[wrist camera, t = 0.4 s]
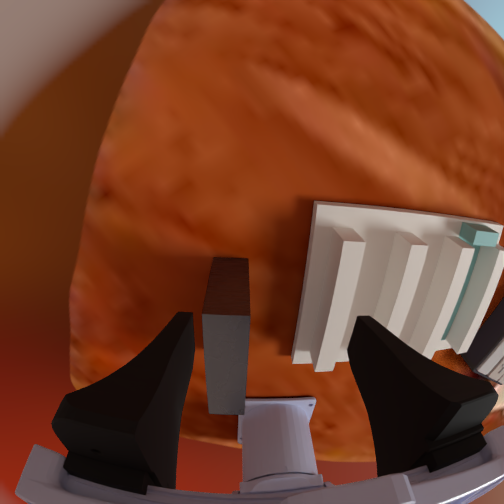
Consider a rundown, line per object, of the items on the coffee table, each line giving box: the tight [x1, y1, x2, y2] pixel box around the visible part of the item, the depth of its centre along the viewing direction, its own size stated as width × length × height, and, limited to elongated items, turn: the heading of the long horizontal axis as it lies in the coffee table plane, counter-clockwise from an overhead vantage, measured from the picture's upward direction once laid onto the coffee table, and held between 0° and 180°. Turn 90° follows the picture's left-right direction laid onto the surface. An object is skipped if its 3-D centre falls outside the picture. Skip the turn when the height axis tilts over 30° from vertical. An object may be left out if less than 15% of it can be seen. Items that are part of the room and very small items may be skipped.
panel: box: [202, 257, 250, 415], centre depth 20 cm, size 9×2×7 cm, turn 177°
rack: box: [291, 201, 504, 372], centre depth 22 cm, size 14×19×4 cm
